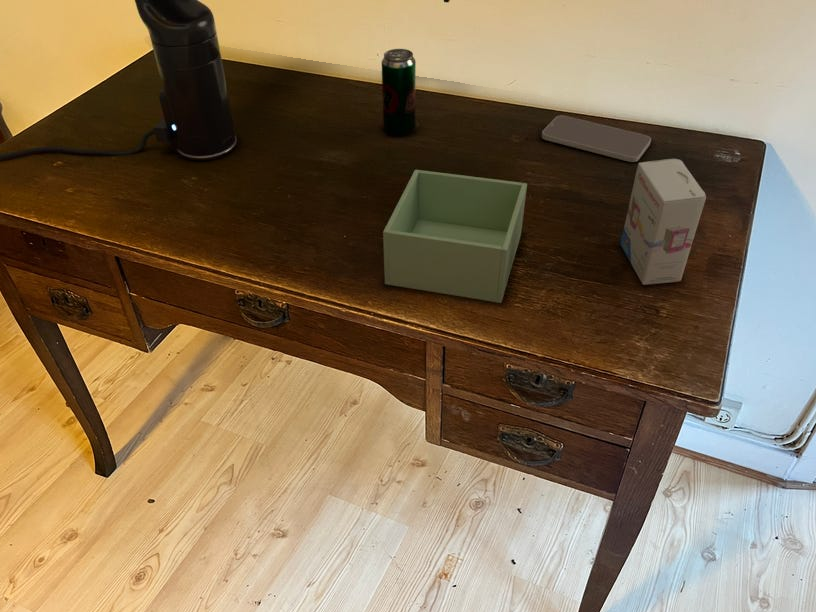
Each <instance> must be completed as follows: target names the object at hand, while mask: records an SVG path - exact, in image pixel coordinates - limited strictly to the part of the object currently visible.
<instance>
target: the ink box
mask: <svg viewBox="0 0 816 612" xmlns="http://www.w3.org/2000/svg"><path fill="white" fill-rule="evenodd" d="M706 199H707V196H706V193H705V191H704V190H703V188H702V187H701V186H700V184H699V183H698V182H697V180H696V179H695V177H694V176H693V175H692V173H691V172H690V171H689V169H688V168H687V166H686V165H685V163H684V162H683V161H682V160H681V159H677V158H668V159H667V158H665V159H658V160H657V159H656V160H650V161H643V162H638V164H637V168H636V172H635V176H634V180H633V186H632V190H631V195H630V199H629V204H628V208H627V212H626V218H625V222H624V227H623V231H622V235H621V240H620V244H619V245H620V247H621V249H622V251H623V252H624V254H625V256H626V257H627V260H628V261H629V263H630V264H631V266H632V269H633V270H634V272H635V274H636V275H637V277H638V279H639V281H640V282H641V284H642V285H643V286H645V285H646V286H647V285H658V284H667V283H668V284H669V283H678V282H681V281H682V280H683V279H682V278H683V275H684V271H685V268H686V265H687V263H688V259H689V255H690V252H691V250H692V245H693V242H694V238H695V236H696V233H697V232H696V231H697V229H698V225H699V223H700V218H701V215H702V212H703V209H704V206H705V203H706Z"/></svg>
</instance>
